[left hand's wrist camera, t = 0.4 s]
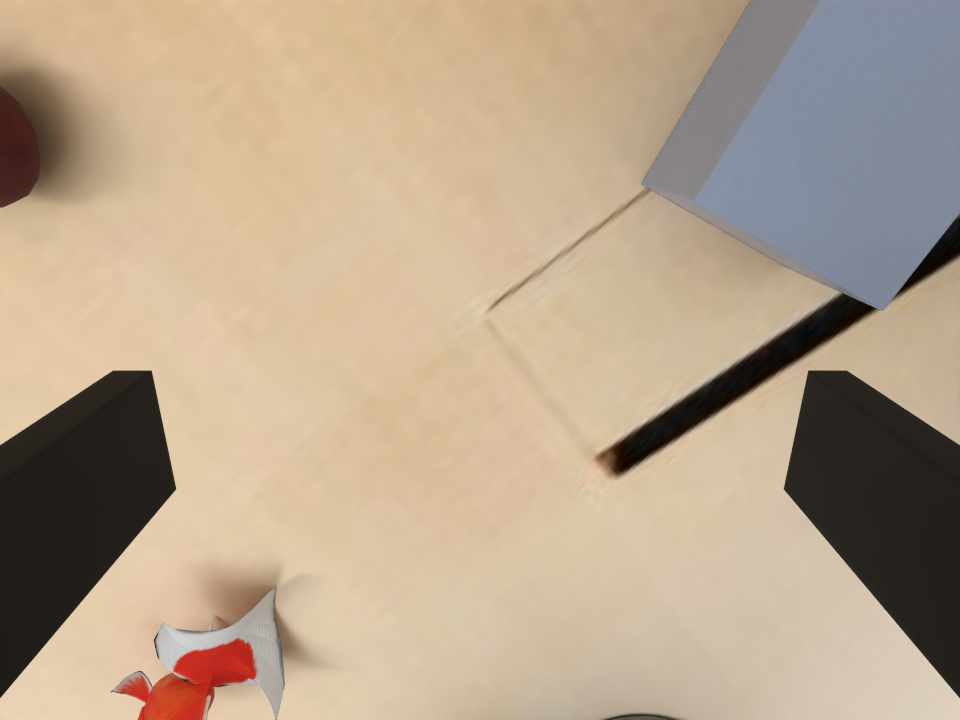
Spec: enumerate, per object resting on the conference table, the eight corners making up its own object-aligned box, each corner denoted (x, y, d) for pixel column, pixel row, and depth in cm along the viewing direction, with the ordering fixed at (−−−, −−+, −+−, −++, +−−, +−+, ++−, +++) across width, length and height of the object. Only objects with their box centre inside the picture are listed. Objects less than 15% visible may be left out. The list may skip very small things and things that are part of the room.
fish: (48, 667, 44) (45, 792, 37) (228, 521, 48) (260, 607, 40) (155, 717, 51) (171, 832, 43) (306, 585, 54) (347, 669, 46)
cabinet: (850, -168, 31) (1004, -292, 22) (1013, -48, 33) (1219, -116, 24) (640, 184, 37) (693, 201, 28) (788, 269, 39) (883, 311, 30)
